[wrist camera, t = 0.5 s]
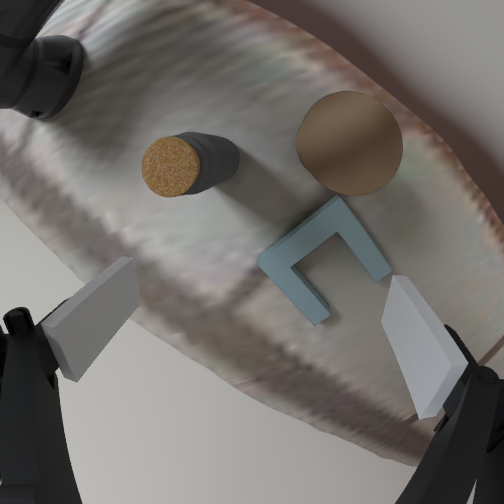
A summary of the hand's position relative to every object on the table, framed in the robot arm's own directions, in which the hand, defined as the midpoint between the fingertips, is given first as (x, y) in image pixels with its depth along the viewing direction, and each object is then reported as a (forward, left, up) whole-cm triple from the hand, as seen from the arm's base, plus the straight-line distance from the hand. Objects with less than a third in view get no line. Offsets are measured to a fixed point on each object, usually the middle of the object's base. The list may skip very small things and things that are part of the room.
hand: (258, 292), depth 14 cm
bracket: (+10, 0, -23) cm, 25 cm away
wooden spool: (-1, +10, -23) cm, 25 cm away
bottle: (-9, -2, -23) cm, 25 cm away
